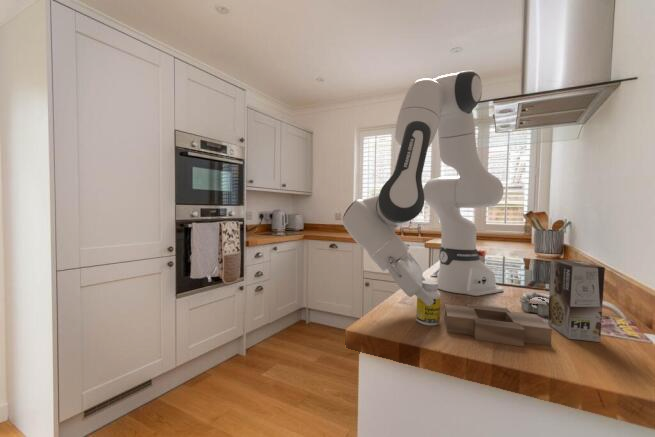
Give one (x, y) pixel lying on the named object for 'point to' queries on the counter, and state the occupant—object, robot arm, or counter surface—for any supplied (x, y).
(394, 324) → the counter surface
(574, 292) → the coffee box
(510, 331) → the walnut cross stand
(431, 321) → the supplement bottle
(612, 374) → the counter surface
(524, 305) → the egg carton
